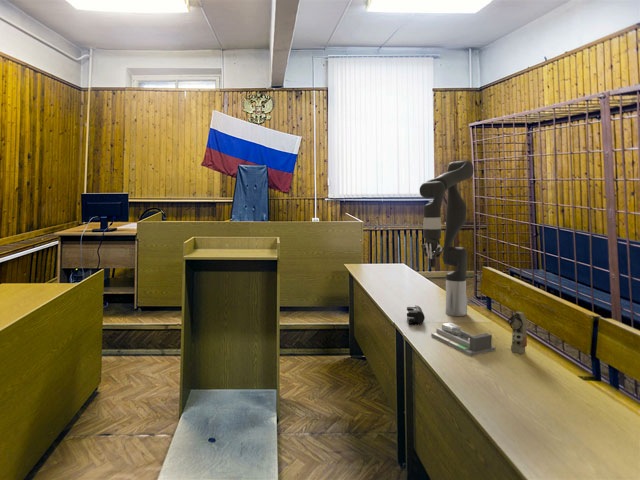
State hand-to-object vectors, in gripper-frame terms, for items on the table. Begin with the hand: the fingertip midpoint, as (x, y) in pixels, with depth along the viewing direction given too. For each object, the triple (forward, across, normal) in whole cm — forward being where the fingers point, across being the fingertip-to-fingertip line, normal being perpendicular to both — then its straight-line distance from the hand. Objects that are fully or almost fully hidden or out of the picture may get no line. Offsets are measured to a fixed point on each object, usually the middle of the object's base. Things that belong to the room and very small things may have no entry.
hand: (432, 266), depth 163 cm
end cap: (+27, +8, +3) cm, 29 cm away
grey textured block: (+26, -16, +2) cm, 30 cm away
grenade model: (+27, -37, -9) cm, 47 cm away
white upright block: (+26, -28, +2) cm, 38 cm away
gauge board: (+27, -21, +2) cm, 34 cm away
